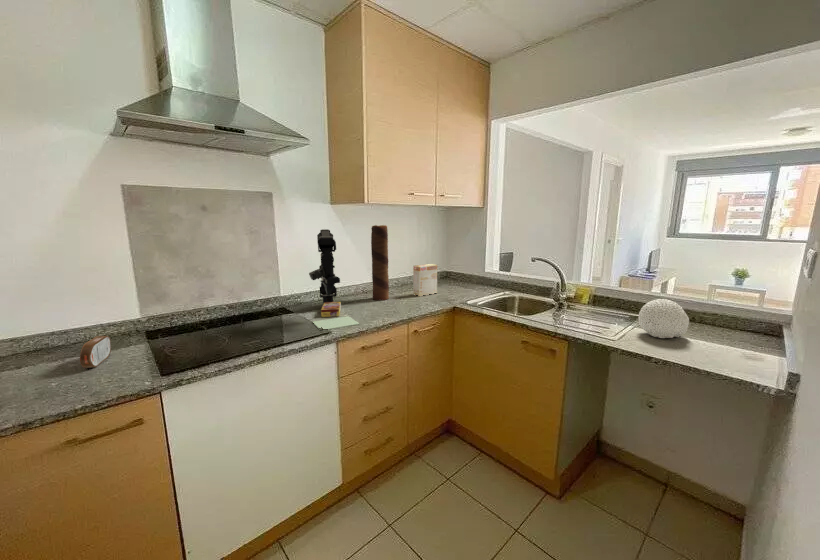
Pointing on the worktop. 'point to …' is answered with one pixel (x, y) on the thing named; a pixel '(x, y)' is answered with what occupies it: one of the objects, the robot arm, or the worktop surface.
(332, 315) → the candy box
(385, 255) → the wafer roll
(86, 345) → the tin
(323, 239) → the robot arm
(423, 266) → the coffeecake box
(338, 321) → the mat
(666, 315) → the white rounded lump
